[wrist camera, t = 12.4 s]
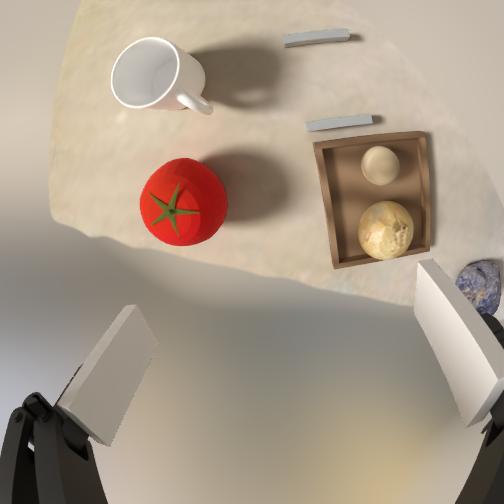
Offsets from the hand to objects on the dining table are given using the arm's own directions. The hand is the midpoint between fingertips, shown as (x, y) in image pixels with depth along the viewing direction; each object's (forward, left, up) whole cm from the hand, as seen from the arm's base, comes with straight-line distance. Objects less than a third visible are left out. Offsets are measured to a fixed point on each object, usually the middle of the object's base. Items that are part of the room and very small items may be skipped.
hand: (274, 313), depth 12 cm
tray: (+4, +13, -27) cm, 30 cm away
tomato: (-2, -11, -27) cm, 29 cm away
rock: (+22, +33, -27) cm, 48 cm away
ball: (-1, +13, -26) cm, 29 cm away
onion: (+8, +13, -27) cm, 30 cm away
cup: (-16, -9, -27) cm, 33 cm away
